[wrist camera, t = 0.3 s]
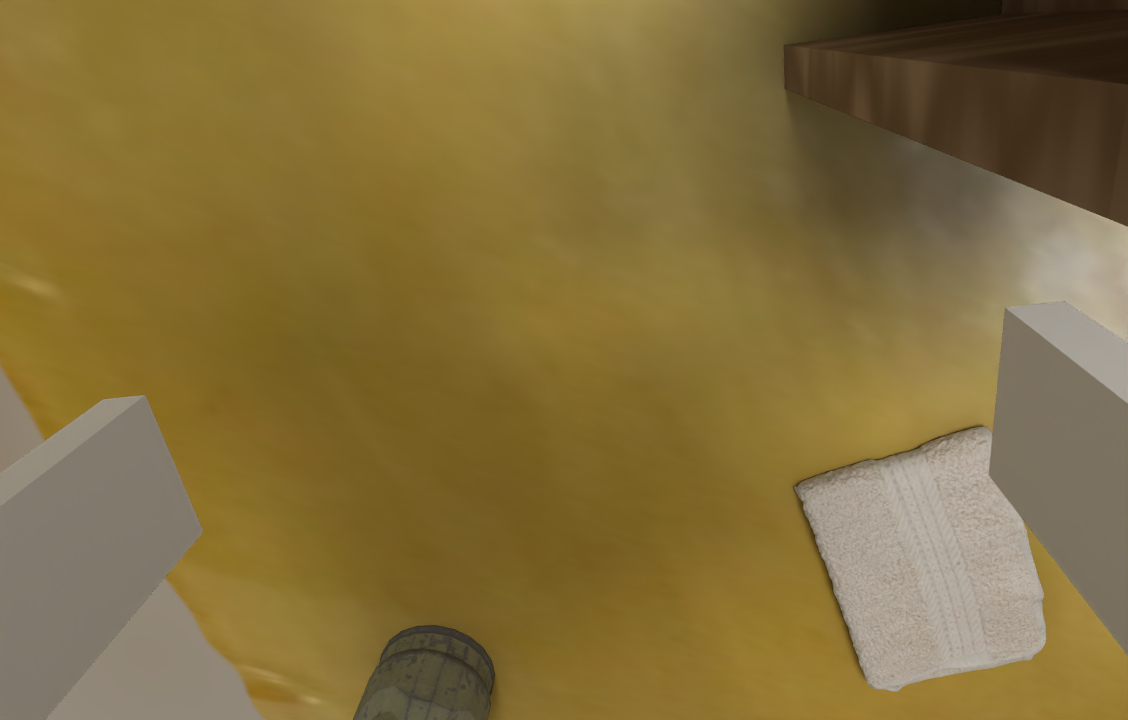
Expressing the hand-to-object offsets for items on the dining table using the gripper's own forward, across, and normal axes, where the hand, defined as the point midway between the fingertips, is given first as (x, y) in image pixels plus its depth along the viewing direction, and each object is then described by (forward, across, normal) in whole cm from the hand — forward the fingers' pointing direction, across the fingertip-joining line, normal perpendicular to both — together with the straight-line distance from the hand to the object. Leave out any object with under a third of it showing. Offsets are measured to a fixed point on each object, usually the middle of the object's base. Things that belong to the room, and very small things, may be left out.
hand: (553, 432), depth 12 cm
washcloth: (+31, +16, -29) cm, 45 cm away
